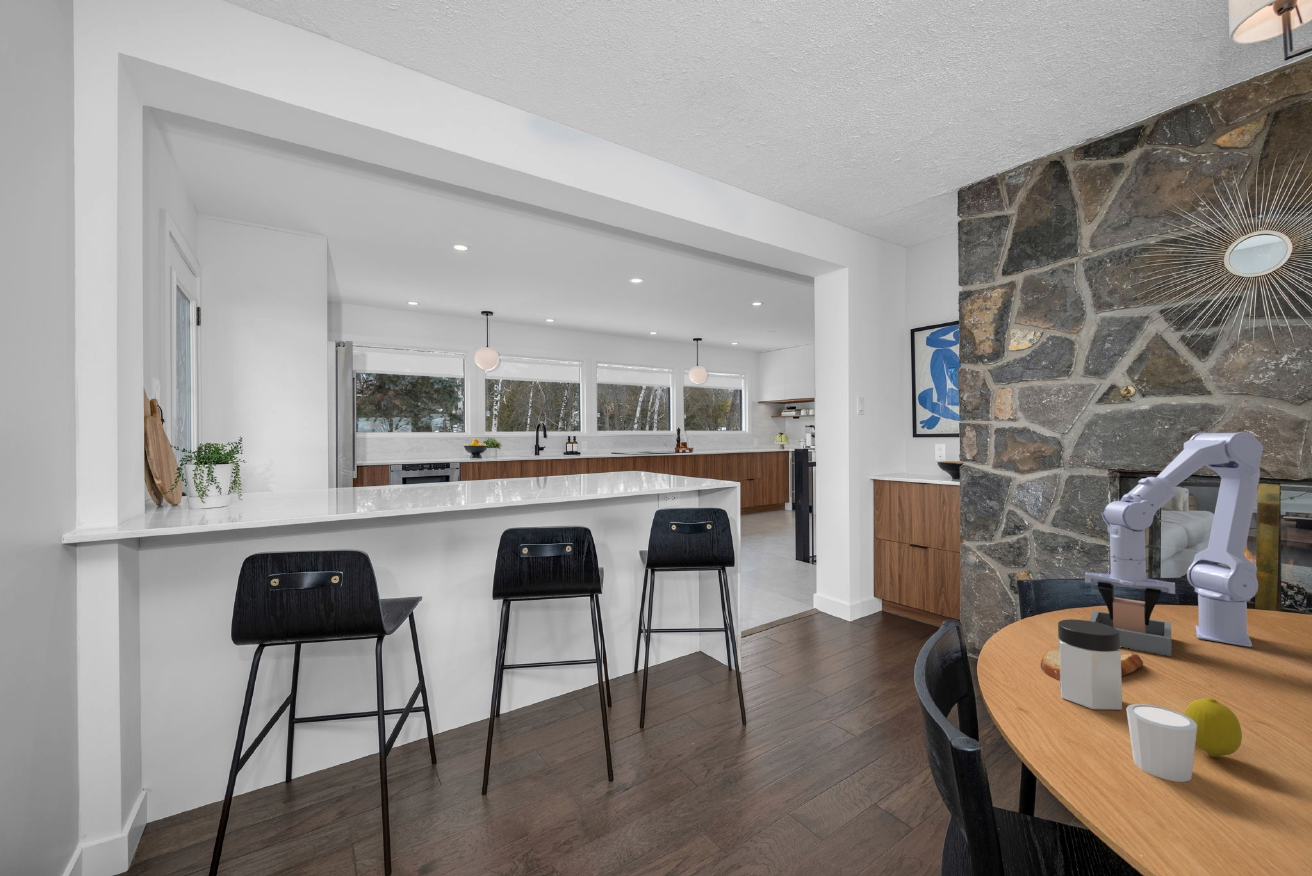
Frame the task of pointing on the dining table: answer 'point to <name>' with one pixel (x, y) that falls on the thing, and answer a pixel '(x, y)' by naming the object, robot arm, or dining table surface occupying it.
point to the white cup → (1162, 741)
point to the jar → (1090, 664)
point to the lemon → (1215, 727)
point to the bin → (1141, 635)
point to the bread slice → (1052, 663)
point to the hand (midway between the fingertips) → (1129, 621)
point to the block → (1129, 615)
